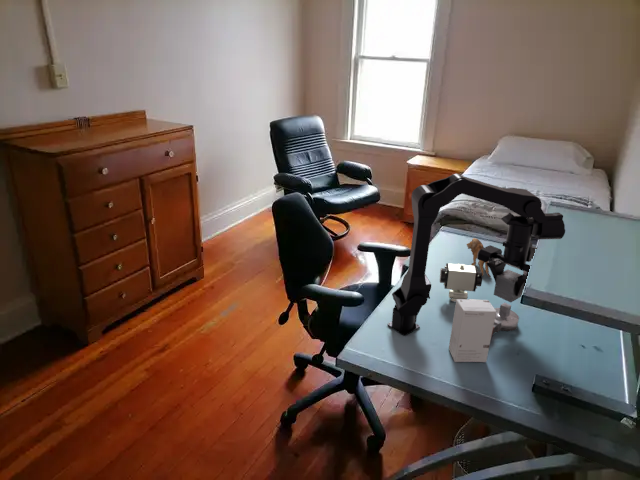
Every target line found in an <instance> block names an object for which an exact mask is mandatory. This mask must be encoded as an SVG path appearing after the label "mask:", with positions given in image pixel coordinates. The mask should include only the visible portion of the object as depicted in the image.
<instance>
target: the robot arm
mask: <svg viewBox="0 0 640 480" xmlns="http://www.w3.org/2000/svg"><path fill="white" fill-rule="evenodd" d="M460 195H465V196H469V197H472V198H475V199H479V200H483V201H486V202H490V203H492V204H496V205H498V206H499V205H500V206H502V207H504V208H506V209H508V210H510V211H511V212H513V213H514V214H517V215H514V214H512V213H511V212H508V213H507V214H506V215H504V216H502V217H501V219H500V220H501V221H502V222H503V223H505V224H506V225H507V226H508V227H507V228H508V229H507V234H506V239H505V241H502V247H504V250H502V249H501V248H498V247H496V246H493V245H490V244H489V245H487V246H484V248H482V249H480V250H479V251H478V254H477V259H476V260H478V259H479V260H481V261H483V262H487V261H488V263H487V264H486V265H487V266H489V267H488V269H489V271H490V272H491V274H492V276H493V279H494V282H495V284H496V278H497V275H498V274H500V273H502V272H504V271H505V268H506V266H507V265H508V266H510V267H513V268H515V269H517V270H520V271H522V272H523V273H522V274H521V276H519V277H518V280H517V287H516V296H517V297H518V296H519V295H520V294H521V292H522V291H524V290H525V288H524V286H525V283H526V279H527V276H528V272H529V269H530V266H531V264H528V263H530V262H531V261H532V259H533V256H534V253H535V249H537V248H538V247H536V246H533V242H532V241H531V239H532V236H533V237H534V238H535V239H536V240H561V239H563V237H564V236H565V233H566V227H565V226H566V225H565V221H564V215H563V214H562V213H561V212H552V213H550V212H548V213H544V211H543V209H542V206H543V205H542V199H541V198H540V197H538V196H537V195H535V194H534V193H532V192H531V191H529V190H528V189H526V188H517V187H509V188H505V187H501V186H498V185H494V184H491V183H488V182H484V181H480V180H477V179H474V178H470V177H467V176H464V175H462V174H460V173H454V174H453V173H452V174H451V175H449V176H447V177H445V178H440V179H438V180H434V181H431V182H429V183H427V184H422V185H418V186H417V187H416V188H415V189H413V191H412V192H411V208H412V215H413V221H414V222H413V229H412V230H413V231H412V237H411V238H412V239H411V246H410V255H409V263H408V269H407V272H406V273H405V274H404V276H403V279H402V282H401V285H400V286H399V287H398V288H397V289H396V290H394V291H393V292H392V293H391V296H392V299H393V300H394V304H395V305H394V307H393V308H392V317H391V321H389V322H388V323H387V326H388V327H389V328H390V329H393V330H394V331H396V332H397V333H399V334H400V335H402V336H408V335H409V334H410V333H412V332H415V331H416V330H418V329H419V328H420V327H421V326H420V324H418V323H417V317H418V315H419V313H420V311H421V309H422V307H423V306H425V305H426V304H427V303H428V299H431V297H430V296H431V295H430V292H431V290H432V283H431V281H430V280H429V278H428V276H427V274H426V270H427V264H428V263H427V262H428V256H429V248H430V242H431V241H430V240H431V235H432V226H433V224H434V223H435V222H436V221H437V218H438V216H439V213H440V211H441V208H443V207H445V206H447V205H449V204H451V202H453V201H454V200H455V199H456V198H457V197H458V196H460ZM502 253H503V254H502ZM479 260H478V261H479ZM533 260H534V259H533ZM527 262H528V263H527ZM525 287H526V286H525ZM522 293H523V292H522Z"/></svg>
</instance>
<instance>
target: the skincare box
mask: <svg viewBox="0 0 640 480" xmlns="http://www.w3.org/2000/svg"><path fill="white" fill-rule="evenodd" d="M494 308H495V307H494V306H493V305H492V303H491V302H490V300H489V299H477V298H476V299H475V298H474V299H473V298H470V299H468V298H467V299H456V302H455V306H454V311H453V312H454V313H453V319H452V326H451V330H450V331H451V332H450V337H449V338H450V339H449V344H448V349H449V352H450V354H451V357H452V359H453V362H454V363H469V362H470V363H473V362H474V363H475V362H476V363H486V362H487V361H488V355H489V351H490V345H491V339H492V337H493V335H492V330H493V326H494V321H495V316H496V310H495V309H494ZM491 336H492V337H491Z"/></svg>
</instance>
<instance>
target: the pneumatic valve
mask: <svg viewBox="0 0 640 480" xmlns="http://www.w3.org/2000/svg"><path fill="white" fill-rule="evenodd" d="M478 270H479V269H478V266H477V265H475V266H473V265H470V264H469V265H468V264H464V263H445V266H444V268H442V267H441V268H440V271H439V283H441V284H443V287H444V289H445V290H449V291H448V298H449V299H450V301H451V302H454V303H456V299H468V297H469V296H468V292H474V293H475V292H476V289H478V287H482V284H483V276H482V272H481V271H478Z"/></svg>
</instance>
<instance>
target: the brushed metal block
mask: <svg viewBox="0 0 640 480" xmlns="http://www.w3.org/2000/svg"><path fill="white" fill-rule="evenodd" d="M521 275H522V274H521V273H518V272H515V271H513V270H511V269H506V270H504V272H502V273H500V274H498V275H497V278H496V283H495V285H494V290H493V296H496V297H498V298H500V299H502V300H505V301H507V302H508V303H513V302H515V301H516V300H518V299H520V298H521V295H522V296H523V291H524V290H523V291H522V292H521V294H520V295H519V296H518V297H517V296H516V287H517V280H518V277H519V276H521Z"/></svg>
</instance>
